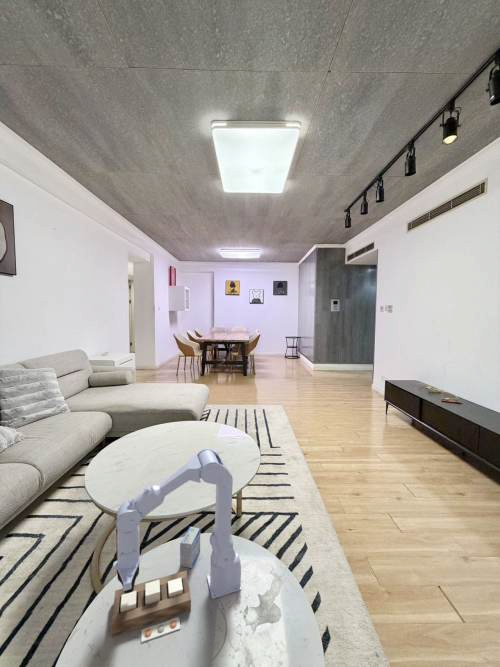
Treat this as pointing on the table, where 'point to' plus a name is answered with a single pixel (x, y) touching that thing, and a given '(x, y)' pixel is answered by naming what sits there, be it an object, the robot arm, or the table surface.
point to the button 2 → (175, 587)
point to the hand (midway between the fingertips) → (129, 590)
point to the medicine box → (190, 547)
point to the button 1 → (128, 601)
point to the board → (150, 606)
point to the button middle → (152, 592)
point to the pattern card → (160, 629)
